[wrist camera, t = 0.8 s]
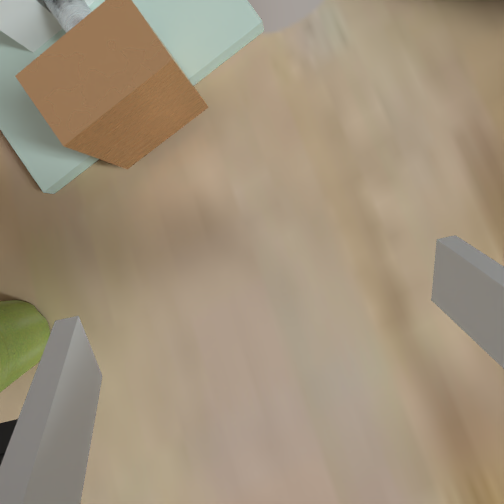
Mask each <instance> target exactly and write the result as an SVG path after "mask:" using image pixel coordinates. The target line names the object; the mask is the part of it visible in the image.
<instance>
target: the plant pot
mask: <svg viewBox="0 0 504 504" xmlns="http://www.w3.org/2000/svg"><path fill="white" fill-rule="evenodd" d="M49 336H50V330H49V326H48V323H47V321H46V319H45V318H44V317H43V316H42V315H41V314H40V313H39V312H38V311H37V310H36V308H35V307H34V306H33V305H31V304H30V303H27V302H24V301H19V300H10V301H0V392H1V391H3V390H4V389H5V388H6V387H8V386H9V385H10V384H11V383H12V382H14V381H15V380H16V379H18V378H19V377H20V376H21V375H23V374H24V373H25V372H27V371H28V370H29V369H31V368H32V367H33V366H35V365H36V364H37V363H38V362H39V361H40V360H41V357H42V355H43V352H44V349H45V347H46V344H47V341H48V339H49Z"/></svg>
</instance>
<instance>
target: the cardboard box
mask: <svg viewBox="0 0 504 504" xmlns="http://www.w3.org/2000/svg"><path fill="white" fill-rule="evenodd" d="M43 1H44V2H45V4H46V5H47V7H48V8H49V9H50V11H51V12H52V14H53V15H54V17H55V18H56V20H57V21H58V22H59V24H60V25H61V27H62V28H63V30H64V31H65V33H66V34H65V35H63V36H62V37H61V38H60V39H59V40H57V41H56V42H55V43H54V44H53V45H51V46H50V47H49V48H48V49H47V50H45V51H44V52H43V53H42V54H41V55H39V56H38V57H37V58H36V59H35V60H33V61H32V62H31V63H30V64H29V65H27V66H26V67H25V68H24V69H23V70H21V71H20V72H19V73H18V74H17V75H15V77H16V78H17V80H18V81H19V83H20V84H21V85H22V87H23V88H24V90H25V91H26V93H27V94H28V96H29V97H30V99H31V100H32V101H33V103H34V104H35V106H36V107H37V109H38V110H39V112H40V113H41V115H42V116H43V117H44V119H45V120H46V122H47V123H48V125H49V126H50V128H51V129H52V131H53V132H54V133H55V135H56V136H57V138H58V139H59V141H60V142H61V144H62V145H63V146H64V147H67V148H70V149H72V150H75V151H78V152H81V153H84V154H86V155H89V156H92V157H95V158H98V159H100V160H103V161H106V162H109V163H112V164H114V165H117V166H120V167H123V168H126V169H128V168H130V167H131V166H132V165H133V164H135V163H136V162H137V161H139V160H140V159H141V158H143V157H144V156H145V155H147V154H148V153H149V152H150V151H152V150H153V149H154V148H156V147H157V146H158V145H160V144H161V143H162V142H164V141H165V140H166V139H167V138H169V137H170V136H171V135H173V134H174V133H175V132H177V131H178V130H179V129H181V128H182V127H183V126H185V125H186V124H187V123H188V122H190V121H191V120H192V119H194V118H195V117H196V116H198V115H199V114H200V113H202V112H203V111H204V110H205V109H207V108H208V106H207V104H206V103H205V102H204V100H203V99H202V97H201V96H200V94H199V93H198V92H197V90H196V89H195V87H194V86H193V84H192V83H191V82H190V80H189V79H188V77H187V76H186V74H185V73H184V72H183V70H182V69H181V67H180V66H179V64H178V63H177V62H176V60H175V59H174V57H173V56H172V54H171V53H170V52H169V50H168V49H167V48H166V46H165V45H164V43H163V42H162V41H161V39H160V38H159V37H158V35H157V34H156V32H155V31H154V30H153V28H152V27H151V26H150V24H149V23H148V22H147V20H146V19H145V17H144V16H143V15H142V13H141V12H140V11H139V9H138V8H137V6H136V5H135V4H134V2H133V1H132V0H105V1H104V2H103V3H102V4H100V5H99V6H98V7H97V8H96V9H94V10H93V11H91V9H90V8H89V6H88V5H87V3H86V2H85V0H43Z"/></svg>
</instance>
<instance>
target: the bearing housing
mask: <svg viewBox="0 0 504 504" xmlns="http://www.w3.org/2000/svg"><path fill="white" fill-rule="evenodd" d="M104 1H105V0H85V2H86V3H87V5H88V6H89V8H90V9H91V11H93V10H94V9H96V8H97V7H98V6H99V5H100V4H102V3H103V2H104ZM132 1H133V2H134V4H135V5H136V6H137V8H138V9H139V11H140V12H141V13H142V15H143V16H144V17H145V19H146V20H147V22H148V23H149V24H150V26H151V27H152V28H153V30H154V31H155V32H156V34H157V35H158V37H159V38H160V39H161V41H162V42H163V43H164V45H165V46H166V48H167V49H168V50H169V52H170V53H171V54H172V56H173V57H174V59H175V60H176V62H177V63H178V64H179V66H180V67H181V69H182V70H183V72H184V73H185V74H186V76H187V77H188V79H189V80H190V82H191V83H192V84H193V86H194V85H195V84H196V83H198V82H199V81H200V80H202V79H203V78H204V77H205V76H207V75H208V74H209V73H211V72H212V71H213V70H214V69H216V68H217V67H218V66H220V65H221V64H222V63H224V62H225V61H226V60H227V59H229V58H230V57H231V56H233V55H234V54H235V53H236V52H238V51H239V50H240V49H242V48H243V47H244V46H245V45H247V44H248V43H249V42H251V41H252V40H253V39H254V38H256V37H257V36H258V35H260V34H261V33H262V32H263V31H264V27H263V22H262V20H261V19H260V17H259V16H258V15H257V13H256V12H255V10H254V9H253V8H252V6H251V5H250V3H249V2H248V0H132ZM65 34H66V33H65V31H64V30H63V28H62V27H61V25H60V24H59V22H58V21H57V20H56V18H55V17H54V15H53V14H52V12H51V11H50V9H49V8H48V7H47V5H46V4H45V2H44V1H43V0H0V130H1V131H2V133H3V134H4V136H5V137H6V139H7V140H8V142H9V143H10V144H11V146H12V147H13V149H14V150H15V152H16V153H17V155H18V156H19V158H20V159H21V161H22V162H23V163H24V165H25V166H26V168H27V169H28V171H29V172H30V174H31V175H32V177H33V178H34V180H35V181H36V183H37V184H38V185H39V187H40V188H41V190H42V191H43V193H50V194H55V193H56V192H57V191H59V190H60V189H61V188H63V187H64V186H65V185H66V184H68V183H69V182H70V181H72V180H73V179H74V178H75V177H77V176H78V175H79V174H81V173H82V172H83V171H84V170H86V169H87V168H88V167H90V166H91V165H92V164H93V163H95V162H96V161H97V160H99V159H98V158H95V157H92V156H89V155H86V154H84V153H81V152H78V151H75V150H72V149H70V148H67V147H64V146H63V145H62V144H61V142H60V141H59V139H58V138H57V136H56V135H55V133H54V132H53V131H52V129H51V128H50V126H49V125H48V123H47V122H46V120H45V119H44V117H43V116H42V115H41V113H40V112H39V110H38V109H37V107H36V106H35V104H34V103H33V101H32V100H31V99H30V97H29V96H28V94H27V93H26V91H25V90H24V88H23V87H22V85H21V84H20V83H19V81H18V80H17V78H16V77H15V75H17V74H18V73H19V72H20V71H21V70H23V69H24V68H25V67H26V66H27V65H29V64H30V63H31V62H32V61H33V60H35V59H36V58H37V57H38V56H39V55H41V54H42V53H43V52H44V51H45V50H47V49H48V48H49V47H50V46H51V45H53V44H54V43H55V42H56V41H57V40H59V39H60V38H61V37H62V36H63V35H65Z"/></svg>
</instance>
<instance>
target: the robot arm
mask: <svg viewBox="0 0 504 504" xmlns="http://www.w3.org/2000/svg"><path fill="white" fill-rule="evenodd" d="M431 300H432V301H433V302H434V303H435V304H436V305H437V306H438V307H439V308H440V309H441V310H442V311H443V312H444V313H446V314H447V315H448V316H449V317H450V318H451V319H452V320H453V321H454V322H455V323H456V324H457V325H458V326H459V327H460V328H461V329H462V330H463V331H465V332H466V333H467V334H468V335H469V336H470V337H471V338H472V339H473V340H474V341H475V342H476V343H477V344H478V345H479V346H480V347H481V348H483V349H484V350H485V351H486V352H487V353H488V354H489V355H490V356H491V357H492V358H493V359H494V360H495V361H496V362H497V363H498V364H499V365H500V366H502V367H503V368H504V267H503V266H502V265H500V264H499V263H497V262H496V261H494V260H493V259H491V258H490V257H488V256H487V255H485V254H483V253H482V252H480V251H479V250H477V249H476V248H474V247H473V246H471V245H470V244H468V243H467V242H465V241H463V240H462V239H460V238H459V237H457V236H456V235H455V236H450V237H446V238H441V239H437V243H436V254H435V265H434V276H433V287H432V298H431ZM101 381H102V374H101V371H100V369H99V366H98V364H97V361H96V359H95V356H94V353H93V351H92V348H91V346H90V343H89V341H88V338H87V336H86V333H85V331H84V328H83V326H82V323H81V321H80V318H79V316H75V317H70V318H66V319H61V320H56V321H55V323H54V325H53V328H52V331H51V333H50V336H49V339H48V341H47V344H46V347H45V349H44V352H43V355H42V357H41V360H40V362H39V365H38V368H37V370H36V373H35V376H34V378H33V381H32V384H31V386H30V389H29V392H28V394H27V397H26V399H25V402H24V405H23V407H22V410H21V413H20V415H19V418H18V419H16V420H12V421H8V422H4V423H0V504H80V502H81V496H82V490H83V485H84V479H85V473H86V467H87V462H88V456H89V450H90V444H91V439H92V433H93V427H94V421H95V416H96V410H97V404H98V398H99V393H100V387H101Z"/></svg>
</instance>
